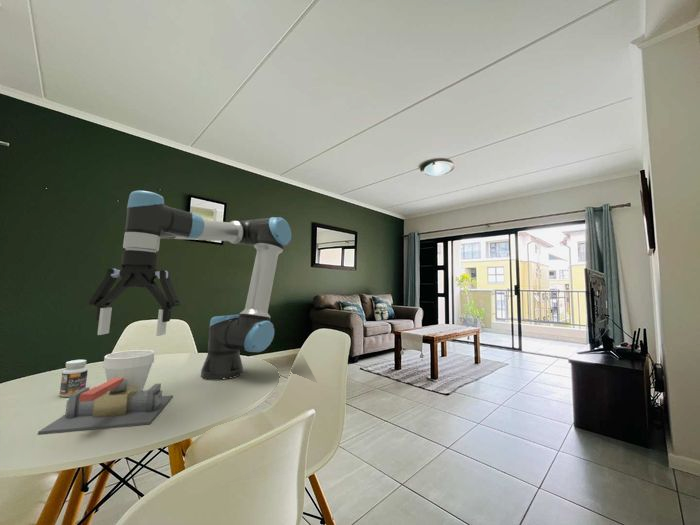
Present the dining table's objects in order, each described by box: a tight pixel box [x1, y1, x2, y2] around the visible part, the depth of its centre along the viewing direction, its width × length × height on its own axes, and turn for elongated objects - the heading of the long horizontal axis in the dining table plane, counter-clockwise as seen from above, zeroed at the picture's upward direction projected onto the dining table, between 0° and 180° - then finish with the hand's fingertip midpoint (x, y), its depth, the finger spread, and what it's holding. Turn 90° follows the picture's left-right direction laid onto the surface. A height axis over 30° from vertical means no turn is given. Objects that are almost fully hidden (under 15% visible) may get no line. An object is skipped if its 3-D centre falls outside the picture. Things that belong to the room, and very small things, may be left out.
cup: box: [102, 349, 155, 391], centre depth 85 cm, size 12×12×14 cm
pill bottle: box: [59, 359, 89, 398], centre depth 88 cm, size 6×6×10 cm
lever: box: [79, 378, 128, 402], centre depth 71 cm, size 14×4×3 cm, turn 11°
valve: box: [64, 383, 163, 419], centre depth 76 cm, size 20×7×6 cm, turn 106°
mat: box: [37, 394, 174, 435], centre depth 76 cm, size 22×18×1 cm
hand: (132, 334), depth 71 cm, fingers open, 13 cm apart
